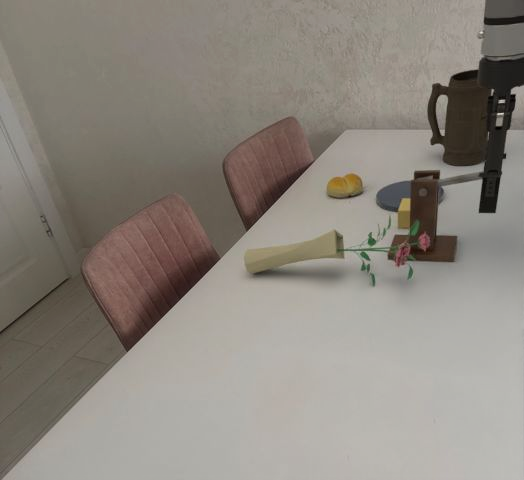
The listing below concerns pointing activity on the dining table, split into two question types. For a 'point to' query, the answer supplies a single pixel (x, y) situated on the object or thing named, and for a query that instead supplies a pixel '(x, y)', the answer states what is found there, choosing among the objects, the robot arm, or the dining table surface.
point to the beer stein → (461, 119)
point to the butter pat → (404, 213)
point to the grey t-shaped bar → (456, 179)
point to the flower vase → (327, 251)
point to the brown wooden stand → (426, 221)
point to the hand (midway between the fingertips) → (487, 204)
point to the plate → (397, 195)
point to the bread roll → (345, 186)
